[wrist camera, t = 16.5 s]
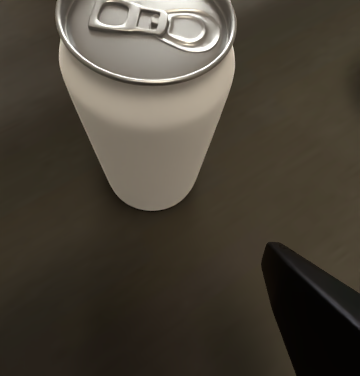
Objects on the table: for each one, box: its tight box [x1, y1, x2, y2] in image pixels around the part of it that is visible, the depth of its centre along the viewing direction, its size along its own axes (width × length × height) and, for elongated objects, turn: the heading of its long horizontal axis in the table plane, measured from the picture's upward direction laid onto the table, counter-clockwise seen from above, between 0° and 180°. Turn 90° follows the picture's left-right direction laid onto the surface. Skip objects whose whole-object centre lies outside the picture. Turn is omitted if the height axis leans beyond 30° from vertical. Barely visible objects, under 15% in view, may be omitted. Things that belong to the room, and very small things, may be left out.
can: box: [55, 0, 237, 211], centre depth 14 cm, size 6×6×12 cm
